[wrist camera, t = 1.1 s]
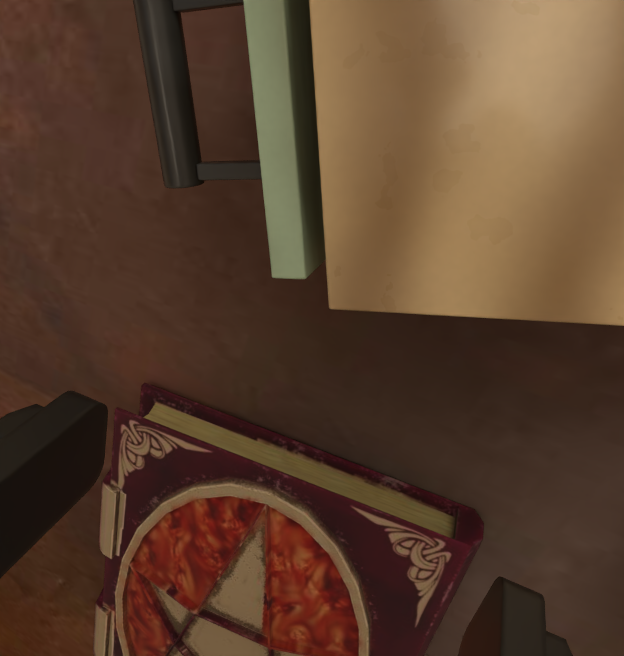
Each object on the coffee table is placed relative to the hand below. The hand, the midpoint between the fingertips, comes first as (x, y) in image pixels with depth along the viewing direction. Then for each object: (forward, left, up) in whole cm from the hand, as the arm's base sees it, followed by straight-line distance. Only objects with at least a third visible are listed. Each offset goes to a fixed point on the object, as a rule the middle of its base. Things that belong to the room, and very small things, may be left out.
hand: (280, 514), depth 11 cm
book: (+24, -11, -18) cm, 32 cm away
